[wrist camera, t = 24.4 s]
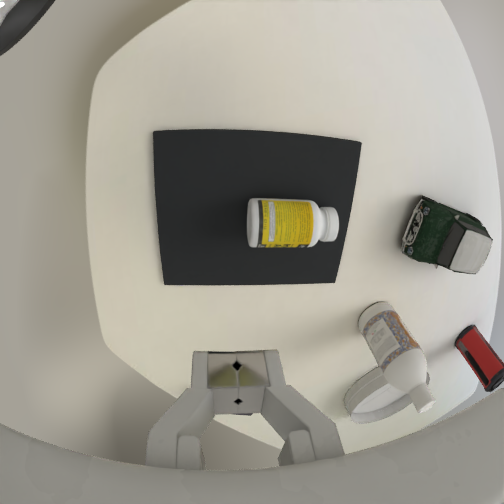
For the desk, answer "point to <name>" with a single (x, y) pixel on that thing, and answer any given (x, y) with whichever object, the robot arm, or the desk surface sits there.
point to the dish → (375, 398)
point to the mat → (246, 203)
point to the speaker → (481, 358)
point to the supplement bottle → (289, 223)
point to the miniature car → (446, 238)
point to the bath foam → (397, 353)
